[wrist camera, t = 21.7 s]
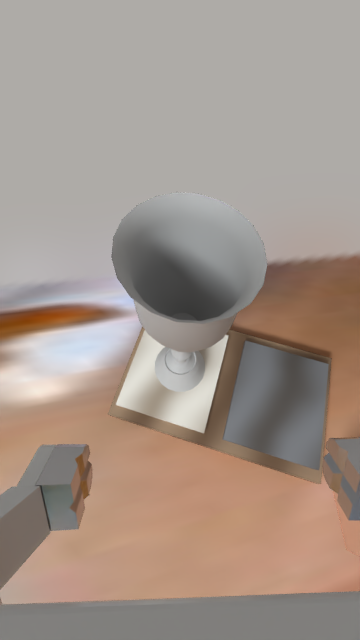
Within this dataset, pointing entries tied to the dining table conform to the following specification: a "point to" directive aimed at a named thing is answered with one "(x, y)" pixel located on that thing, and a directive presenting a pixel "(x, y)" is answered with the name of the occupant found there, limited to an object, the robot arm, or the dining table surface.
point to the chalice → (187, 276)
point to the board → (237, 402)
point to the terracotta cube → (349, 530)
